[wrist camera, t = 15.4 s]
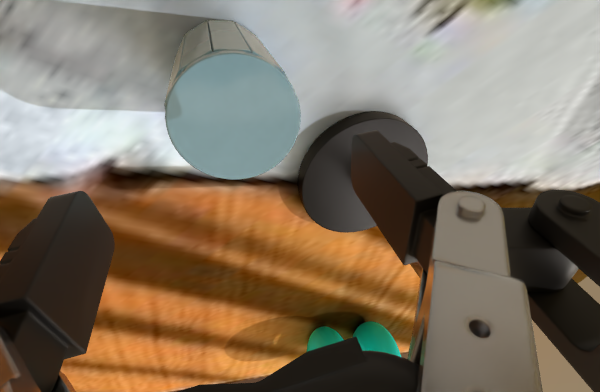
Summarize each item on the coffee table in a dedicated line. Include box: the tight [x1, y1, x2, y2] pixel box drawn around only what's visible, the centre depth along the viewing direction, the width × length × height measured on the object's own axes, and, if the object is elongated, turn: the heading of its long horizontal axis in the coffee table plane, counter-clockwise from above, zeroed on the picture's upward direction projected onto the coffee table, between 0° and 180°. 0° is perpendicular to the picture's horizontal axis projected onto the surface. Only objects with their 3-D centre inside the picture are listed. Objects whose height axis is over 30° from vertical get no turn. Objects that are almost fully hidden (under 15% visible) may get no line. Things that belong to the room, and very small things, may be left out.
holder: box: [298, 112, 428, 277], centre depth 23 cm, size 12×12×17 cm
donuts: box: [307, 321, 401, 357], centre depth 41 cm, size 10×10×10 cm
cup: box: [164, 20, 301, 179], centre depth 18 cm, size 6×6×9 cm
